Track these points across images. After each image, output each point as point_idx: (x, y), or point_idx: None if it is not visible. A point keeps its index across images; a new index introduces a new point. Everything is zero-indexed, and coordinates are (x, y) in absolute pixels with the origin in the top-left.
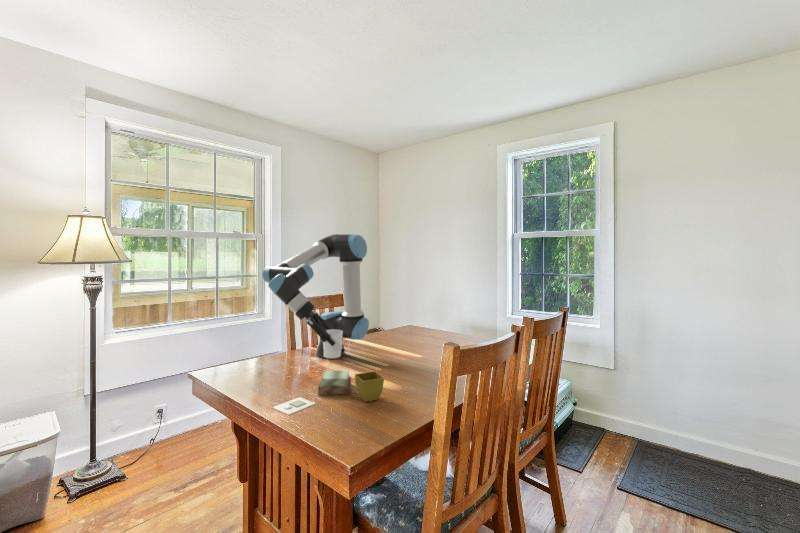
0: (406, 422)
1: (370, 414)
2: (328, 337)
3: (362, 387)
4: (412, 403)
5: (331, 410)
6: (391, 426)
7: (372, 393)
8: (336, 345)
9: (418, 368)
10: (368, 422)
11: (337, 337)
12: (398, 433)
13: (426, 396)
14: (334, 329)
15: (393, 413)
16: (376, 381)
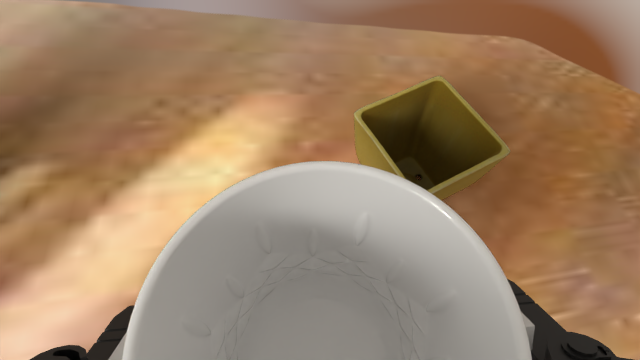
0: (545, 78)
1: (534, 170)
2: (620, 358)
3: (487, 171)
4: (409, 64)
5: (558, 317)
6: (588, 111)
7: (448, 152)
8: None
9: (65, 40)
10: (594, 171)
11: (436, 240)
12: (619, 95)
13: (347, 31)
14: (133, 334)
15: (500, 108)
16: (462, 107)
